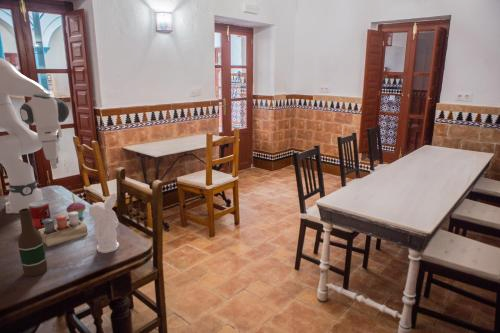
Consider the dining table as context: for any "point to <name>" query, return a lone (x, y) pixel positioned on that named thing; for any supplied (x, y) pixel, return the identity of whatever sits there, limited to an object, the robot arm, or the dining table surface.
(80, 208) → the cupcake
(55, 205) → the dining table surface
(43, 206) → the canned food
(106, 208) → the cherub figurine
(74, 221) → the white rounded piece
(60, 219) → the red plug
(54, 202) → the dining table surface
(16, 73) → the robot arm
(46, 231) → the graphite plug
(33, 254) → the beer bottle
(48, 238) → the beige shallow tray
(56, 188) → the dining table surface
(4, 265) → the dining table surface
